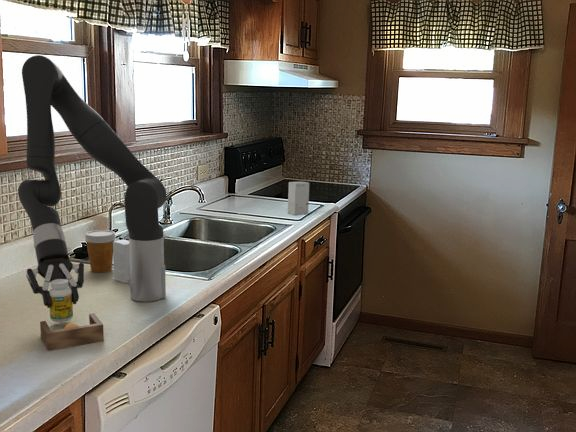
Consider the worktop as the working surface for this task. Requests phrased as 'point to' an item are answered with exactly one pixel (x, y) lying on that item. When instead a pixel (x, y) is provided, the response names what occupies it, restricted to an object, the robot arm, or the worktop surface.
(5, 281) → the worktop surface
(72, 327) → the ball
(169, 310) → the worktop surface
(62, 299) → the supplement bottle
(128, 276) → the skincare box
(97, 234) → the disposable coffee cup
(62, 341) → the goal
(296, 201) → the skincare box
